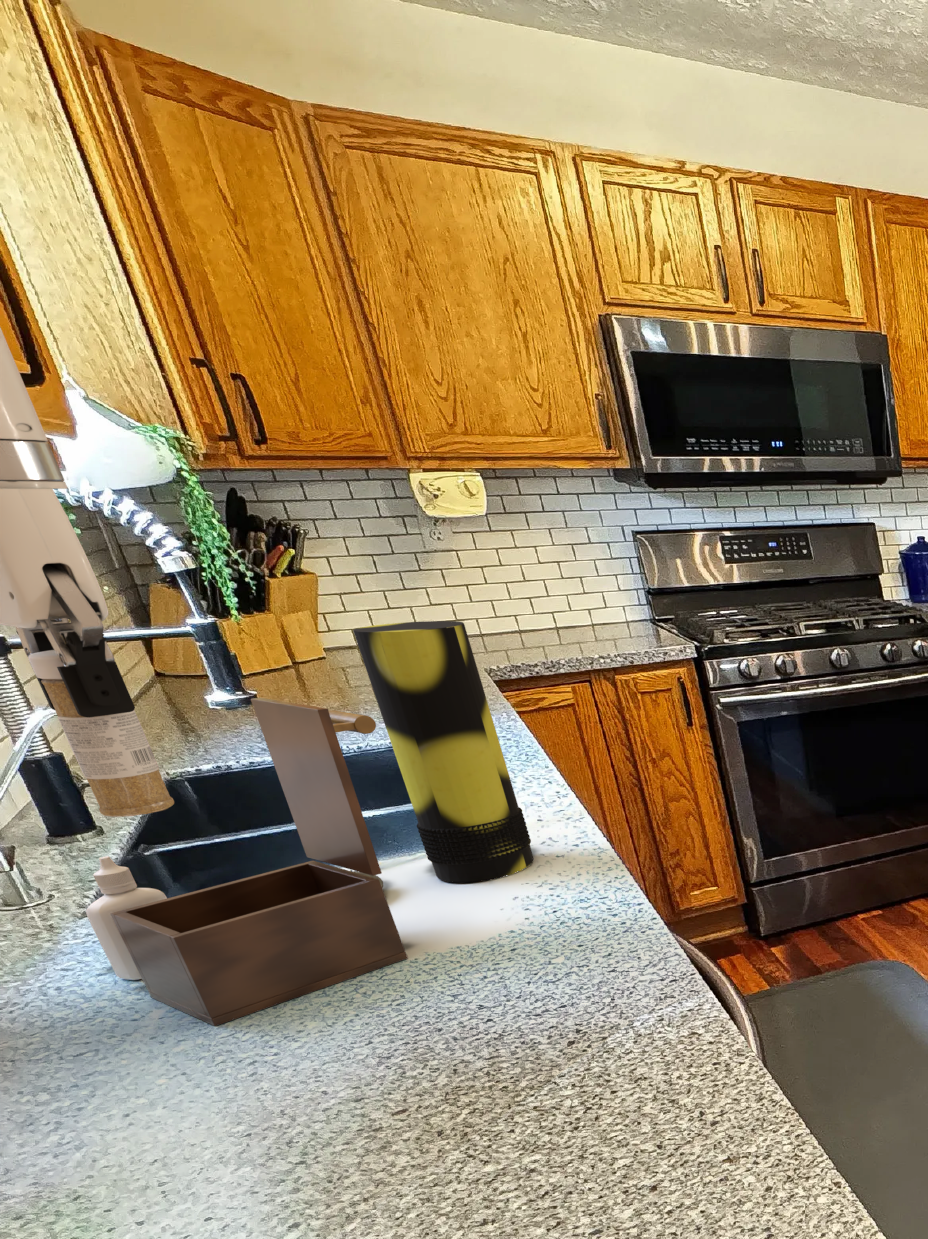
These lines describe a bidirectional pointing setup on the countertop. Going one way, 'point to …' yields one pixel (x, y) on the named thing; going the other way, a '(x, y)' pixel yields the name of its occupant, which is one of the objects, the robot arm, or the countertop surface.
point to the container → (446, 748)
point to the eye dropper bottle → (116, 898)
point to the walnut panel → (319, 780)
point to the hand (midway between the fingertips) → (93, 708)
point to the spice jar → (106, 750)
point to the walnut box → (260, 939)
